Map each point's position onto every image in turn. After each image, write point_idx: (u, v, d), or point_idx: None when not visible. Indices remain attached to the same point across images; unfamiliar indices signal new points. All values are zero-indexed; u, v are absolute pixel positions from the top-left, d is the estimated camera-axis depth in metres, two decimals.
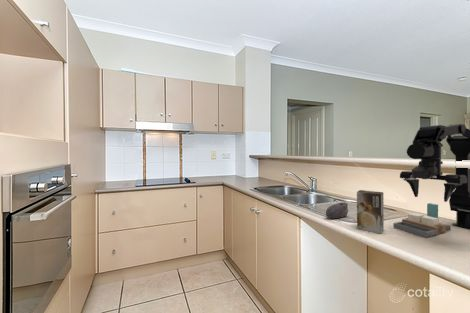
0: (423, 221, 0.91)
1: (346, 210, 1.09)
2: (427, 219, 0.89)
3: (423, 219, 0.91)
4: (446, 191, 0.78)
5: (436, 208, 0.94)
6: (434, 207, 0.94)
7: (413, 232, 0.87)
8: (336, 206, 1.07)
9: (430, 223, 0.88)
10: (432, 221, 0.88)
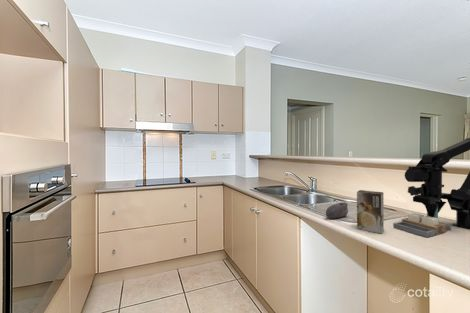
0: (423, 221, 0.91)
1: (346, 210, 1.09)
2: (427, 219, 0.89)
3: (423, 219, 0.91)
4: None
5: None
6: None
7: (413, 232, 0.87)
8: (336, 206, 1.07)
9: (430, 223, 0.88)
10: (432, 221, 0.88)
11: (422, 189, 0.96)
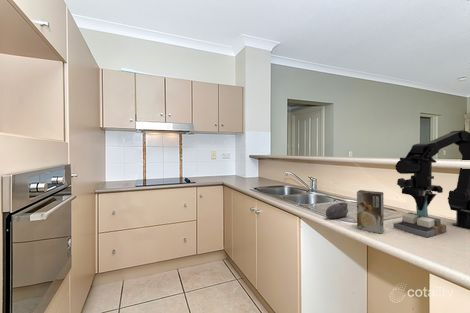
0: (419, 223, 0.89)
1: (346, 210, 1.09)
2: (422, 221, 0.88)
3: (419, 221, 0.89)
4: None
5: None
6: None
7: (413, 232, 0.87)
8: (336, 206, 1.07)
9: (426, 225, 0.87)
10: (428, 223, 0.86)
11: (411, 181, 0.93)
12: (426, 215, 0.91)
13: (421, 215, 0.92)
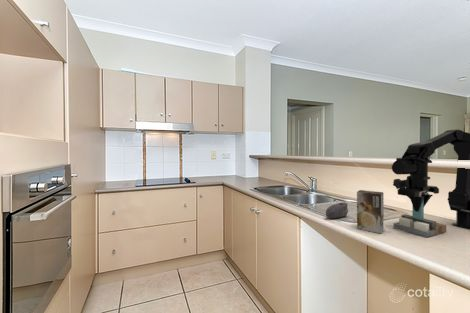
0: None
1: (346, 210, 1.09)
2: None
3: None
4: None
5: None
6: None
7: (413, 232, 0.87)
8: (336, 206, 1.07)
9: None
10: None
11: (407, 182, 0.92)
12: (422, 217, 0.90)
13: (417, 217, 0.90)
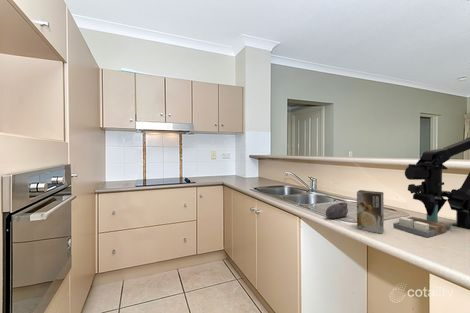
0: None
1: (346, 210, 1.09)
2: None
3: None
4: None
5: (436, 208, 0.94)
6: None
7: (413, 232, 0.87)
8: (336, 206, 1.07)
9: None
10: None
11: (422, 187, 0.96)
12: (436, 221, 0.94)
13: None
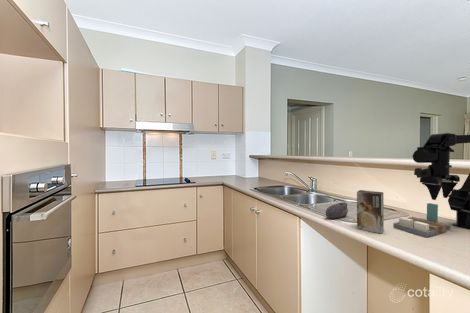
0: None
1: (346, 210, 1.09)
2: None
3: None
4: None
5: (436, 208, 0.94)
6: (434, 207, 0.94)
7: (413, 232, 0.87)
8: (336, 206, 1.07)
9: None
10: None
11: (429, 170, 0.95)
12: (436, 221, 0.94)
13: None
